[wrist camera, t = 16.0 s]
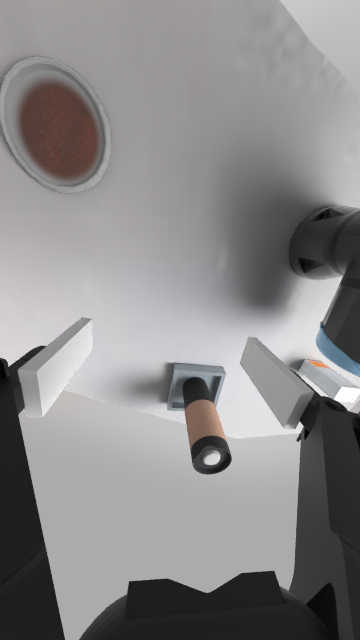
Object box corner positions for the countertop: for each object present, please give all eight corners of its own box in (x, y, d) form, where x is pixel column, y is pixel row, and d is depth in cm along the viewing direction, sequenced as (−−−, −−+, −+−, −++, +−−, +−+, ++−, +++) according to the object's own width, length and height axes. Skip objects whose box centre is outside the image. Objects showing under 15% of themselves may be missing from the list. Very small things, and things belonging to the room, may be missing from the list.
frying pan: (-90, -54, 22) (126, 103, 28) (-62, -21, 25) (129, 116, 31) (-97, 107, 27) (90, 211, 33) (-73, 121, 30) (95, 214, 36)
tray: (222, 366, 52) (226, 373, 49) (211, 404, 56) (214, 412, 54) (174, 362, 50) (174, 369, 47) (167, 402, 54) (167, 410, 52)
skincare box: (321, 361, 54) (363, 389, 43) (315, 372, 56) (353, 403, 44) (304, 358, 53) (341, 386, 42) (298, 370, 55) (332, 401, 43)
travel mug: (198, 400, 54) (217, 478, 36) (176, 391, 52) (184, 469, 34) (212, 381, 52) (240, 454, 34) (190, 372, 50) (207, 443, 32)
